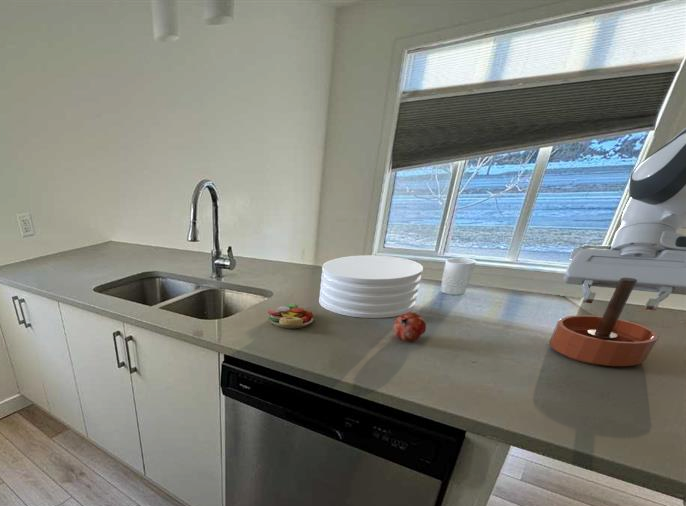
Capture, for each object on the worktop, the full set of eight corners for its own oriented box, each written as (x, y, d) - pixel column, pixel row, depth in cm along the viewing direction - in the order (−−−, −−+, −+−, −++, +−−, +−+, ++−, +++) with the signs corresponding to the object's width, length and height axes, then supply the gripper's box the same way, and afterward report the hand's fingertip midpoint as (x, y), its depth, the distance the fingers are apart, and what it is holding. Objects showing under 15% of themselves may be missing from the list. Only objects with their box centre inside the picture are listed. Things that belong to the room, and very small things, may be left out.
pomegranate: (399, 339, 109) (379, 324, 104) (420, 317, 107) (400, 300, 102) (419, 353, 103) (398, 337, 99) (441, 330, 101) (421, 313, 96)
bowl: (617, 340, 95) (629, 316, 92) (662, 372, 82) (678, 345, 79) (536, 337, 99) (545, 314, 96) (567, 366, 87) (579, 341, 84)
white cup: (451, 286, 135) (459, 256, 130) (473, 292, 129) (482, 261, 124) (432, 290, 133) (439, 260, 128) (453, 297, 127) (462, 265, 122)
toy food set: (290, 334, 113) (291, 323, 111) (258, 321, 123) (258, 311, 121) (322, 321, 119) (324, 311, 117) (289, 310, 128) (289, 300, 127)
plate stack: (374, 325, 113) (381, 285, 107) (300, 301, 134) (303, 267, 129) (434, 302, 124) (443, 265, 118) (357, 283, 146) (362, 251, 140)
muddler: (602, 345, 91) (636, 275, 83) (614, 355, 88) (652, 282, 80) (575, 344, 93) (607, 275, 85) (586, 353, 89) (620, 282, 81)
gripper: (577, 236, 90) (556, 290, 89) (720, 242, 78) (698, 305, 77) (571, 252, 95) (551, 304, 94) (704, 260, 83) (683, 320, 82)
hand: (618, 305), depth 85 cm, fingers open, 8 cm apart
